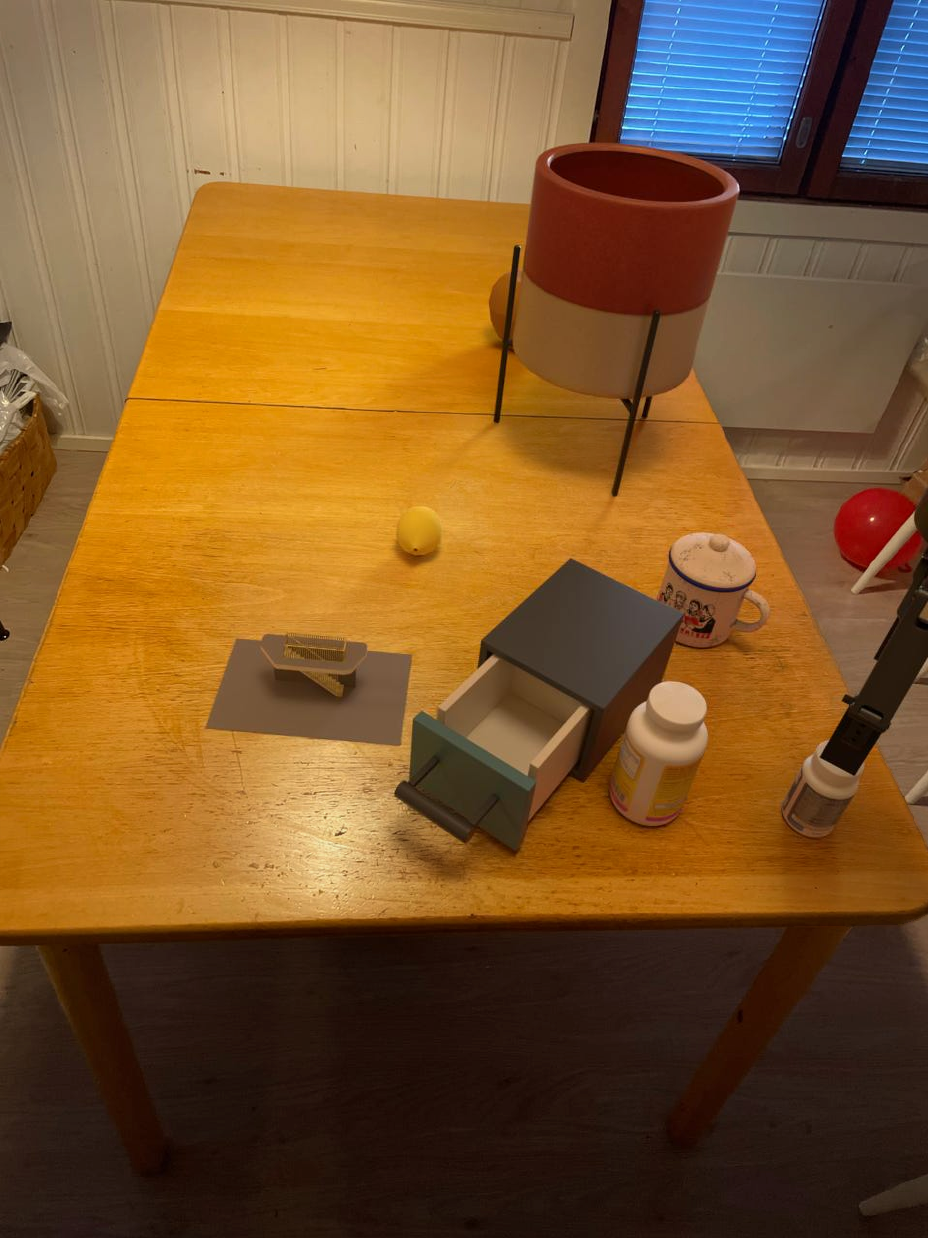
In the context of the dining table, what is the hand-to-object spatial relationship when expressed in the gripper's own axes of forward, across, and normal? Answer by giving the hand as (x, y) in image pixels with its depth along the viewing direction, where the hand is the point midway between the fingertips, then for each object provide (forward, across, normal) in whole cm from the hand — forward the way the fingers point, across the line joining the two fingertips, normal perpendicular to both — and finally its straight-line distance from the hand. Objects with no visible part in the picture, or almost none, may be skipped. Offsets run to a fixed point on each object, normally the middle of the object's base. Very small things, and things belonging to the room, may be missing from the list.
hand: (865, 711), depth 70 cm
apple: (+15, +62, +71) cm, 95 cm away
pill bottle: (+14, 0, 0) cm, 14 cm away
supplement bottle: (+14, -8, +12) cm, 20 cm away
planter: (+15, +41, +47) cm, 64 cm away
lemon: (+15, +7, +50) cm, 52 cm away
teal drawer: (+13, -16, +24) cm, 31 cm away
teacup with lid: (+14, +17, +18) cm, 28 cm away
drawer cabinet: (+14, -2, +24) cm, 28 cm away
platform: (+14, -17, +44) cm, 49 cm away
